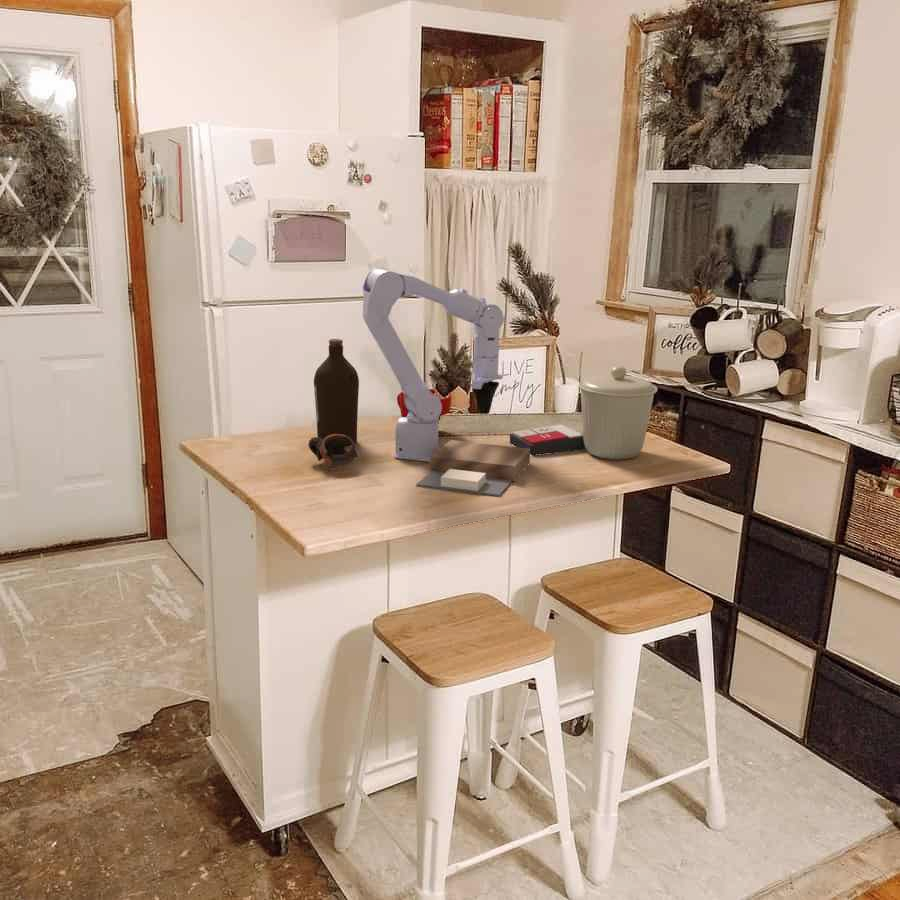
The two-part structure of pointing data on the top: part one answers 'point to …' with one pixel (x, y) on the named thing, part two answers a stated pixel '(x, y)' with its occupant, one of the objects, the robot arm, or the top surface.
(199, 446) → the top surface
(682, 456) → the top surface
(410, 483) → the top surface
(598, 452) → the canister
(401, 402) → the ceramic cup
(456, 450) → the block
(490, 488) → the mat
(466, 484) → the tile
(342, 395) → the olive oil
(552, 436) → the calculator
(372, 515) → the top surface
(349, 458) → the pottery mug
